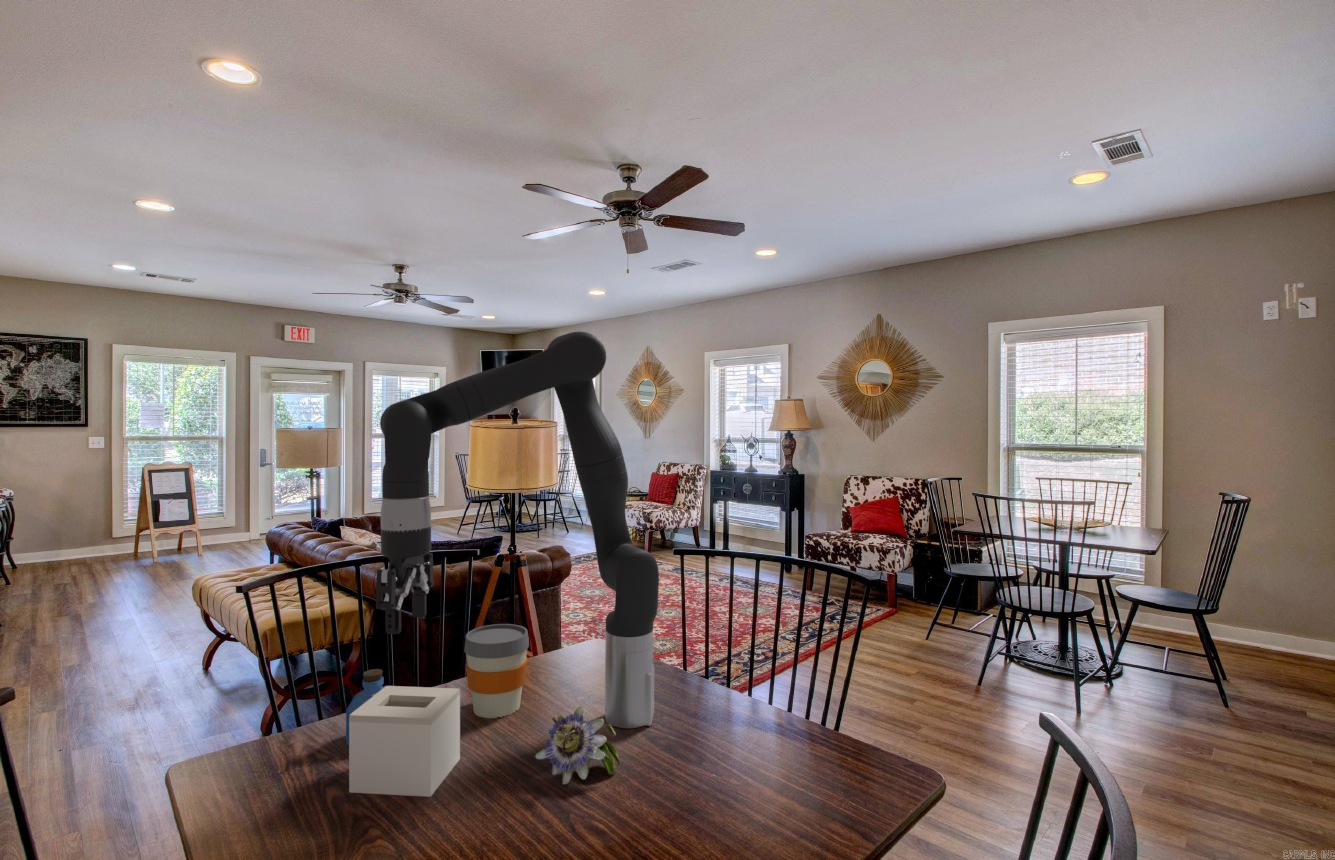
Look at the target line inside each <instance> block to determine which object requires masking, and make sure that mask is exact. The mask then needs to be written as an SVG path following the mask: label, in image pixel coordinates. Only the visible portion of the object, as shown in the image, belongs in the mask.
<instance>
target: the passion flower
mask: <svg viewBox="0 0 1335 860" xmlns="http://www.w3.org/2000/svg"><path fill="white" fill-rule="evenodd" d="M584 719H585V711H584V707H582V705H580V706H578V707H576V709H575V711H574V713H572V714H569V715H566V717H565V716H563V715H558V716H557V719H556V717H552V719H551V720H552V721H553V723H554V724H553V725H552V726H553V727H550V729H548V732H547V733H548V734H549V736H550V738H549V740H547V741H545V742H544V747H542V748H540V749H539V750H538V751H537V752H536V753H535V754H534V758H535V759H536V760H541V761H542V760H545V759H548V761H549V762H550V763H551V764H552V765H551V766H552V768H551V776H552V777H555V776H556V777H557V776H558V775H561V777H562V778H561V783H562V785H563V786H565V785H568V784H569V783H570V781H571V780H572V777H573V774H574V772H576V774H577V775H578V777H579V778H580V779H581V780H583V781H584V780H586V779H587V778H588V775H589V773H590V762H591V761H593V760H595V761H602V763H603V766H604V767H605V770H606V771H607V773H608V775H611V776H613V775H615V773H616V763H615V761H616V762H617V765H618V766H620V765H621V760H620V758H619V757H620V756H619V754H618V752H617V749H616V747H615V746H614V745H613V744H612V743H611V742H609V741H608V740H607V737H606V735H602V734H599V733H597V732H598V731H600V730H601V729H603V728H604V727H607V728H608V730H609V731H610V732H611V734H612V738H615V737H616V736H617V734H616V732H615V730H614V727H613V726H612V725H611V724H610V723H607V724H605V719H603V718H598V719H594V720H592V721H587V719H586V720H584ZM586 722H587V723H586Z"/></svg>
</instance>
